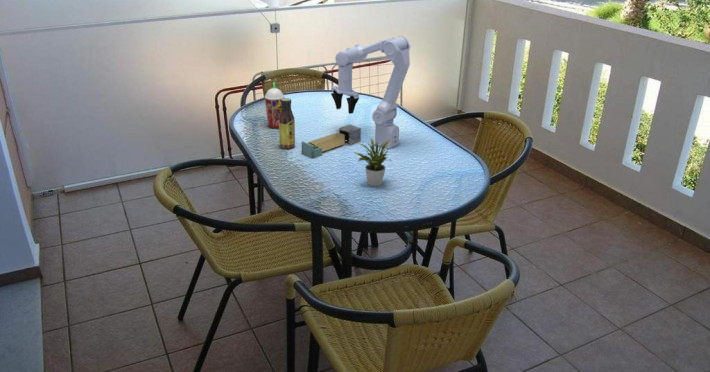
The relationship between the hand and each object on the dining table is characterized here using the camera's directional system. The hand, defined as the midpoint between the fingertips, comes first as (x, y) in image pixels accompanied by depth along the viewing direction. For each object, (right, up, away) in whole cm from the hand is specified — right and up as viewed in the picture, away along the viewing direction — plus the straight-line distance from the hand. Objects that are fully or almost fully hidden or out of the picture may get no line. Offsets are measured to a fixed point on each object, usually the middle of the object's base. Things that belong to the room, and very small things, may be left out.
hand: (344, 111), depth 253 cm
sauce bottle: (-23, -16, -11) cm, 30 cm away
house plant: (+12, -30, -40) cm, 51 cm away
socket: (-13, -19, -18) cm, 29 cm away
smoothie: (-31, -6, +10) cm, 33 cm away
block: (-7, -16, -13) cm, 22 cm away
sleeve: (+2, -13, -5) cm, 14 cm away
